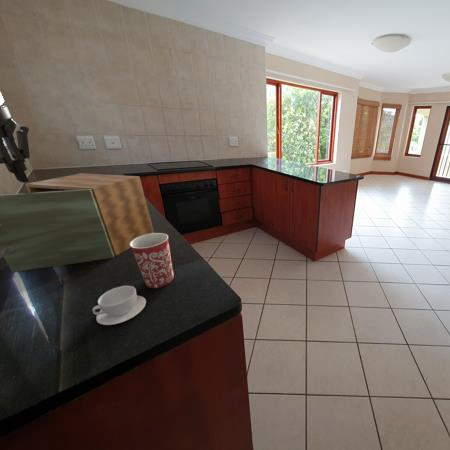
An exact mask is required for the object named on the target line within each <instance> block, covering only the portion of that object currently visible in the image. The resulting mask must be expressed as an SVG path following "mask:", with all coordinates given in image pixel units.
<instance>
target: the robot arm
mask: <svg viewBox="0 0 450 450" xmlns="http://www.w3.org/2000/svg"><path fill="white" fill-rule="evenodd" d="M14 132H16V138H15V136H14ZM29 132H30V128H29V127H28V126H26V125H22V124H19V123H17V122H16V121H15V120H14V119H13V118H12V115H11V112H10V110H9V108H8V106H7V104H5V100H4V97H3V94H2V92H1V91H0V164H1V165H2V164H4V165H5V168H6V169H7V171H8V172H9V173H10V174H13V175H14V176H15V179H16V181H18V182H21V183H23V184H25V183H29V182H30V180H29V178H28V176H27V174H26V171H28V167H27V166H26V164H25V163H26V160H27V159H30V157H31V156H30V155H31V154H30V147H29V138H28V134H29ZM15 140H16V141H17V142H16V141H15Z"/></svg>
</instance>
